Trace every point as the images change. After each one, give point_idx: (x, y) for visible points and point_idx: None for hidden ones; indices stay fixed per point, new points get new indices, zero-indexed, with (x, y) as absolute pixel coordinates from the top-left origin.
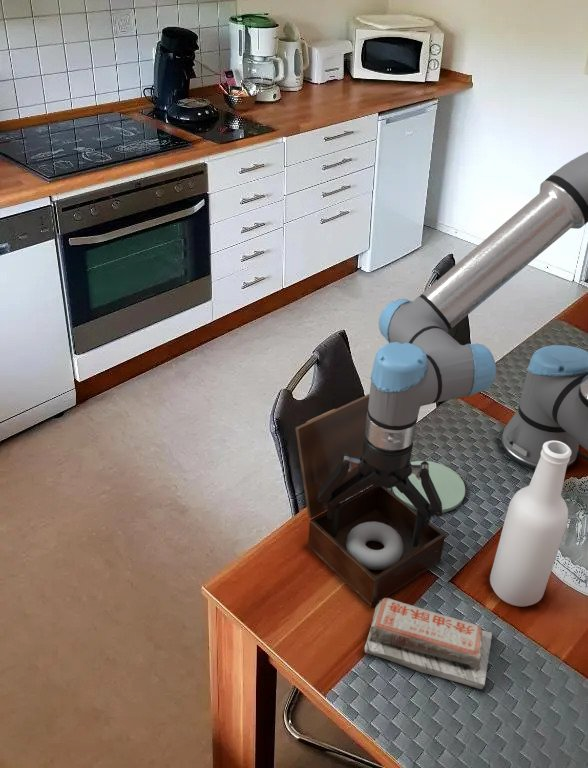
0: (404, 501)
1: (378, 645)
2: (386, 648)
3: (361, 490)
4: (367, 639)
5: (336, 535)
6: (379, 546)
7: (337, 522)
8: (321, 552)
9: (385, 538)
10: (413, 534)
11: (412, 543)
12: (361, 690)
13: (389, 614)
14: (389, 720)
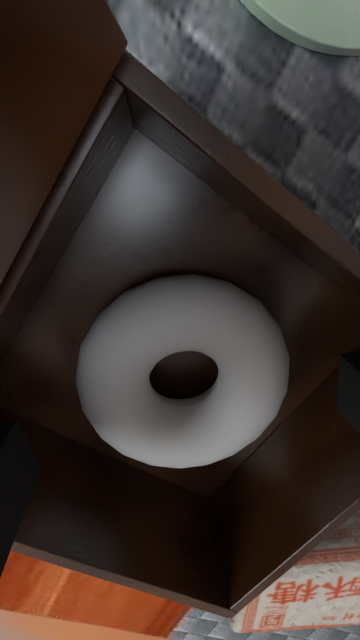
0: (262, 11)
1: None
2: None
3: (21, 239)
4: None
5: (37, 477)
6: None
7: (5, 555)
8: None
9: (221, 363)
10: (350, 381)
11: (304, 280)
12: (221, 617)
13: (272, 609)
14: (270, 632)
